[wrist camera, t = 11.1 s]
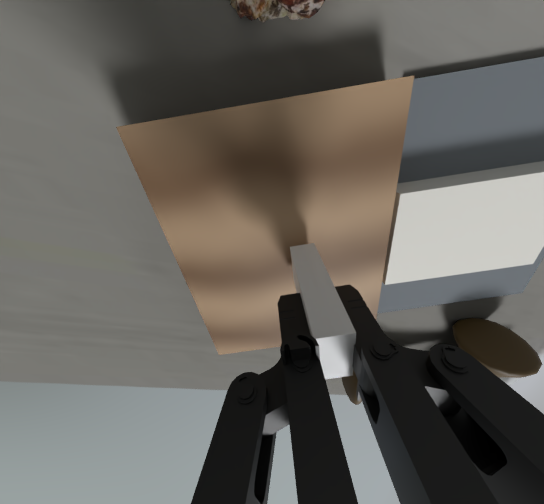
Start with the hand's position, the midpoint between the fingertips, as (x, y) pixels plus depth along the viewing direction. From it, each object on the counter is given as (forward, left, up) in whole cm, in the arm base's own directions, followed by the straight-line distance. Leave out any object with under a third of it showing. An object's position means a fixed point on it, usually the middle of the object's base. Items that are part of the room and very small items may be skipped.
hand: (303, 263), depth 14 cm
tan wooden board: (0, -1, -3) cm, 4 cm away
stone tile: (0, +12, -3) cm, 12 cm away
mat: (0, +14, -3) cm, 14 cm away
